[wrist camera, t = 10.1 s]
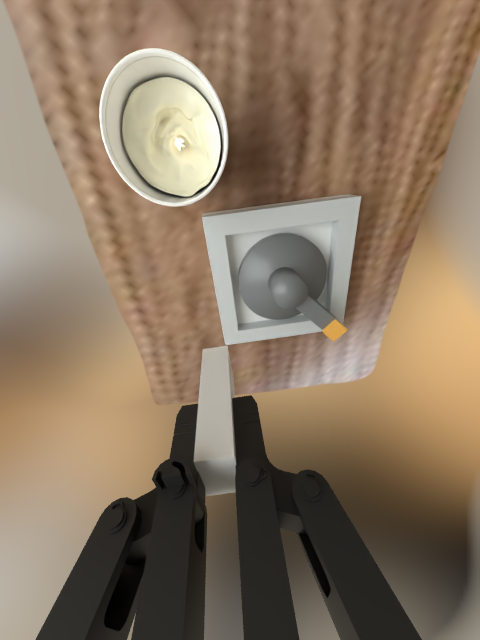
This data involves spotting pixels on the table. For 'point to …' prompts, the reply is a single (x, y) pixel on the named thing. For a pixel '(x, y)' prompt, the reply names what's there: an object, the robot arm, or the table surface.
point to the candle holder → (163, 127)
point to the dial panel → (261, 221)
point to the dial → (287, 281)
